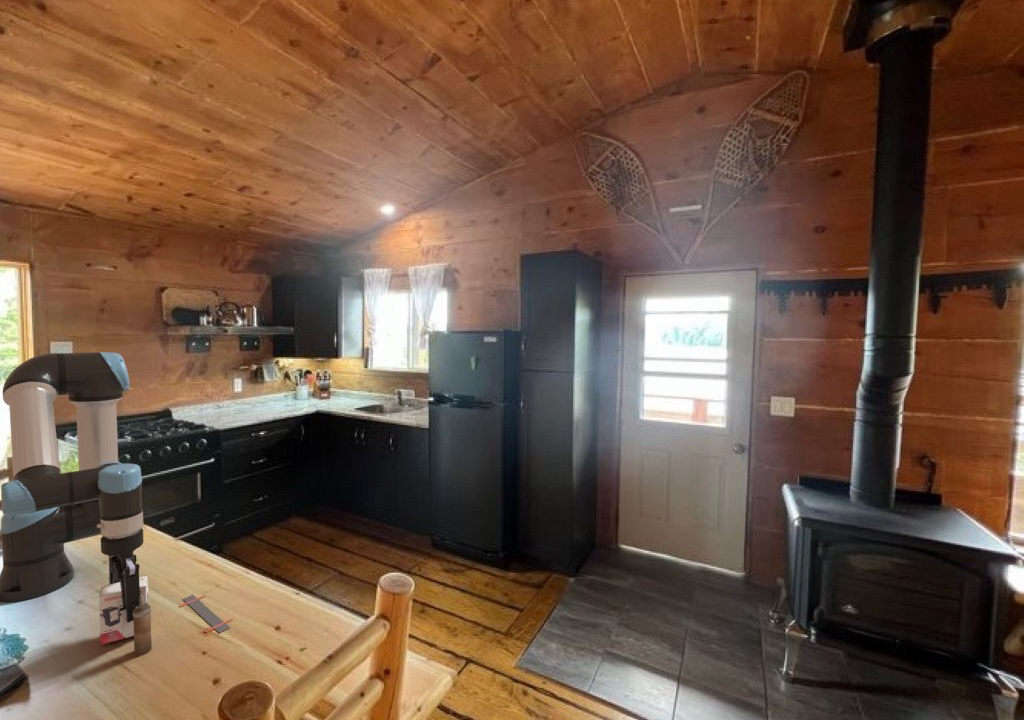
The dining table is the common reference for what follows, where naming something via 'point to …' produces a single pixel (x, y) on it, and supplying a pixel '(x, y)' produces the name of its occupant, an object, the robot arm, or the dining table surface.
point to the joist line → (206, 614)
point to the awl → (142, 628)
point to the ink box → (115, 610)
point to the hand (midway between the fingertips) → (125, 626)
